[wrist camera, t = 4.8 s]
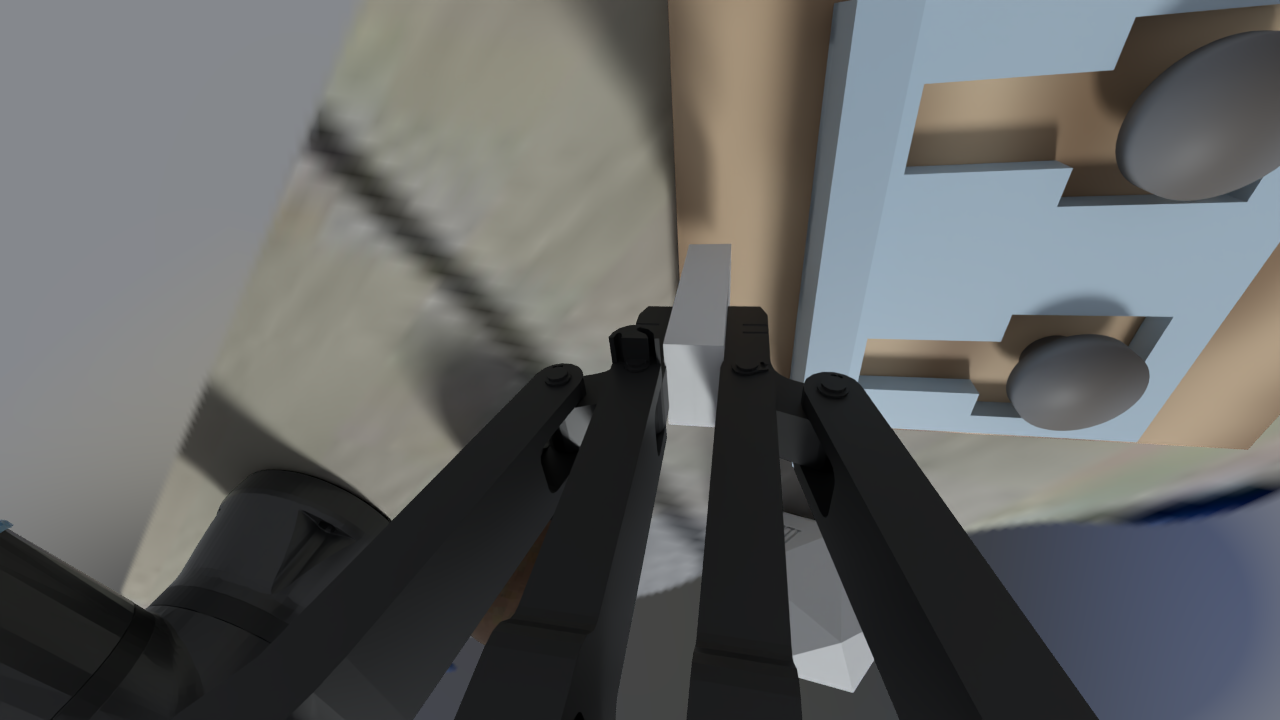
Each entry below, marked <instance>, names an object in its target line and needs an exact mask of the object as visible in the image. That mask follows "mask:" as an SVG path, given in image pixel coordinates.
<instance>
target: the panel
mask: <svg viewBox="0 0 1280 720" xmlns="http://www.w3.org/2000/svg"><path fill="white" fill-rule="evenodd" d="M1272 4H1280V0H850V1H844V2H838V3H834V8H833V16H832V25H831V33H830V42H829V50H828V59H827V67H826V75H825V84H824V92H823V101H822V109H821V118H820V126H819V135H818V143H817V152H816V160H815V169H814V177H813V185H812V194H811V202H810V211H809V219H808V228H807V236H806V245H805V253H804V262H803V270H802V278H801V287H800V295H799V304H798V312H797V321H796V329H795V338H794V346H793V355H792V363H791V371H790V379H792V380H795V381H799V382H803V383H804V382H805V380H806V378H808V377H810V376H811V375H813V374H816V373H820V372H836V373H840V374H844V375H847V376H849V377H851V378H853V379H855V380H856V381H857V382H858V383H859V384H860V385H861V386H862V387H863V389H864V390H865V391H866V393H867V394H868V396H869V397H870V398H871V400H872V401H873V403H874V404H875V406H876V407H877V408H878V410H879V411H880V413H881V414H882V415H883V417H884V418H885V420H886V421H887V422H888V424H889V425H890V427H891V428H895V429H913V430H930V431H948V432H965V433H982V434H1000V435H1017V436H1035V437H1052V438H1070V439H1087V440H1104V441H1122V442H1138V440H1139V439H1140V437H1141V436H1142V435H1143V433H1144V432H1145V430H1146V429H1147V428H1148V426H1149V425H1150V423H1151V422H1152V421H1153V419H1154V418H1155V416H1156V415H1157V414H1158V412H1159V411H1160V409H1161V408H1162V407H1163V405H1164V404H1165V402H1166V401H1167V399H1168V398H1169V397H1170V395H1171V394H1172V392H1173V391H1174V390H1175V388H1176V387H1177V385H1178V384H1179V383H1180V381H1181V380H1182V378H1183V377H1184V376H1185V374H1186V373H1187V371H1188V370H1189V369H1190V367H1191V366H1192V364H1193V363H1194V362H1195V360H1196V359H1197V357H1198V356H1199V355H1200V353H1201V352H1202V350H1203V349H1204V348H1205V346H1206V345H1207V343H1208V342H1209V341H1210V339H1211V338H1212V336H1213V335H1214V334H1215V332H1216V331H1217V329H1218V328H1219V327H1220V325H1221V324H1222V322H1223V321H1224V320H1225V318H1226V317H1227V315H1228V314H1229V313H1230V311H1231V310H1232V308H1233V307H1234V306H1235V304H1236V303H1237V301H1238V300H1239V299H1240V297H1241V296H1242V294H1243V293H1244V292H1245V290H1246V289H1247V287H1248V286H1249V284H1250V283H1251V282H1252V280H1253V279H1254V277H1255V276H1256V275H1257V273H1258V272H1259V270H1260V269H1261V268H1262V266H1263V265H1264V263H1265V262H1266V261H1267V259H1268V258H1269V256H1270V255H1271V254H1272V252H1273V251H1274V249H1275V248H1276V247H1277V245H1278V244H1279V242H1280V166H1279V167H1278V168H1277V169H1275V170H1274V171H1272V172H1270V173H1269V174H1267V175H1266V176H1264V177H1262V178H1260V179H1258V180H1257V181H1255V182H1253V183H1251V184H1249V185H1246V186H1244V187H1242V188H1240V189H1237V190H1235V191H1232V192H1229V193H1226V194H1223V195H1219V196H1216V197H1212V198H1207V199H1201V200H1191V201H1180V200H1171V199H1166V198H1163V197H1159V196H1157V195H1155V194H1148V195H1114V196H1080V197H1061V196H1062V193H1063V191H1064V189H1065V186H1066V184H1067V181H1068V179H1069V177H1070V174H1071V172H1072V169H1073V168H1072V167H1070V166H1067V165H1065V164H1063V163H1061V162H1059V161H1056V160H1053V161H1030V162H1006V163H983V164H959V165H936V166H912V167H906V163H907V159H908V154H909V150H910V145H911V141H912V136H913V132H914V128H915V123H916V119H917V114H918V110H919V105H920V101H921V96H922V92H923V87H924V84H931V83H945V82H959V81H972V80H986V79H999V78H1013V77H1027V76H1040V75H1054V74H1067V73H1081V72H1095V71H1108V70H1114V68H1115V66H1116V63H1117V61H1118V59H1119V56H1120V54H1121V51H1122V49H1123V47H1124V44H1125V42H1126V39H1127V37H1128V34H1129V32H1130V30H1131V27H1132V25H1133V22H1134V20H1135V18H1136V17H1141V16H1152V15H1163V14H1174V13H1185V12H1196V11H1207V10H1218V9H1229V8H1240V7H1250V6H1261V5H1272ZM1012 315H1077V316H1146V318H1145V319H1144V321H1143V323H1142V324H1141V326H1140V328H1139V329H1138V331H1137V333H1136V334H1135V336H1134V338H1133V339H1132V341H1131V342H1130V344H1129V346H1128V347H1129V348H1130V349H1132V350H1133V351H1134V352H1135V353H1136V354H1137V355H1139V356H1140V357H1141V358H1142V359H1143V360H1144V361H1145V363H1146V364H1147V366H1148V369H1149V374H1150V378H1149V384H1148V386H1147V389H1146V390H1145V392H1144V394H1143V395H1142V397H1141V398H1140V399H1139V400H1138V401H1137V402H1136V403H1135V404H1134V405H1133V406H1132V407H1131V408H1129V409H1128V410H1127V411H1125V412H1124V413H1122V414H1121V415H1119V416H1117V417H1115V418H1113V419H1111V420H1109V421H1107V422H1104V423H1102V424H1099V425H1096V426H1093V427H1089V428H1084V429H1079V430H1071V431H1054V430H1047V429H1042V428H1039V427H1036V426H1033V425H1031V424H1029V423H1028V422H1026V421H1025V420H1024V419H1023V418H1022V417H1021V416H1020V415H1019V414H1018V412H1017V411H1016V409H1015V408H1014V406H1013V405H1012V403H1003V402H981V401H977V398H978V396H979V393H978V391H977V389H976V388H975V386H974V385H973V383H972V381H971V380H970V379H946V378H920V377H893V376H866V375H860V370H861V366H862V361H863V357H864V352H865V348H866V343H867V339H906V340H949V341H992V342H1001V340H1002V338H1003V336H1004V333H1005V331H1006V328H1007V326H1008V324H1009V321H1010V319H1011V316H1012ZM792 467H794V466H793V462H792Z"/></svg>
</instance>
